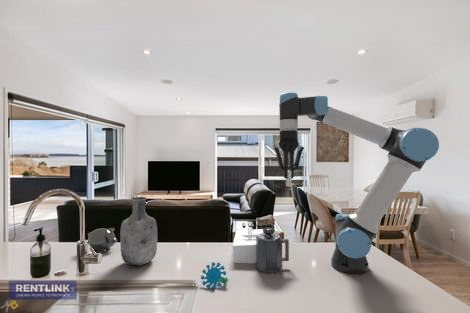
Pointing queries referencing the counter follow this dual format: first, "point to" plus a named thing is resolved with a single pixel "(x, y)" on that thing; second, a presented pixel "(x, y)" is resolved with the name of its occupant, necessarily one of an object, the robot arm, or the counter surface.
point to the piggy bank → (102, 239)
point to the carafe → (270, 253)
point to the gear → (214, 276)
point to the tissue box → (245, 245)
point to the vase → (138, 235)
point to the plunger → (268, 231)
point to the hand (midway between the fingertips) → (288, 186)
